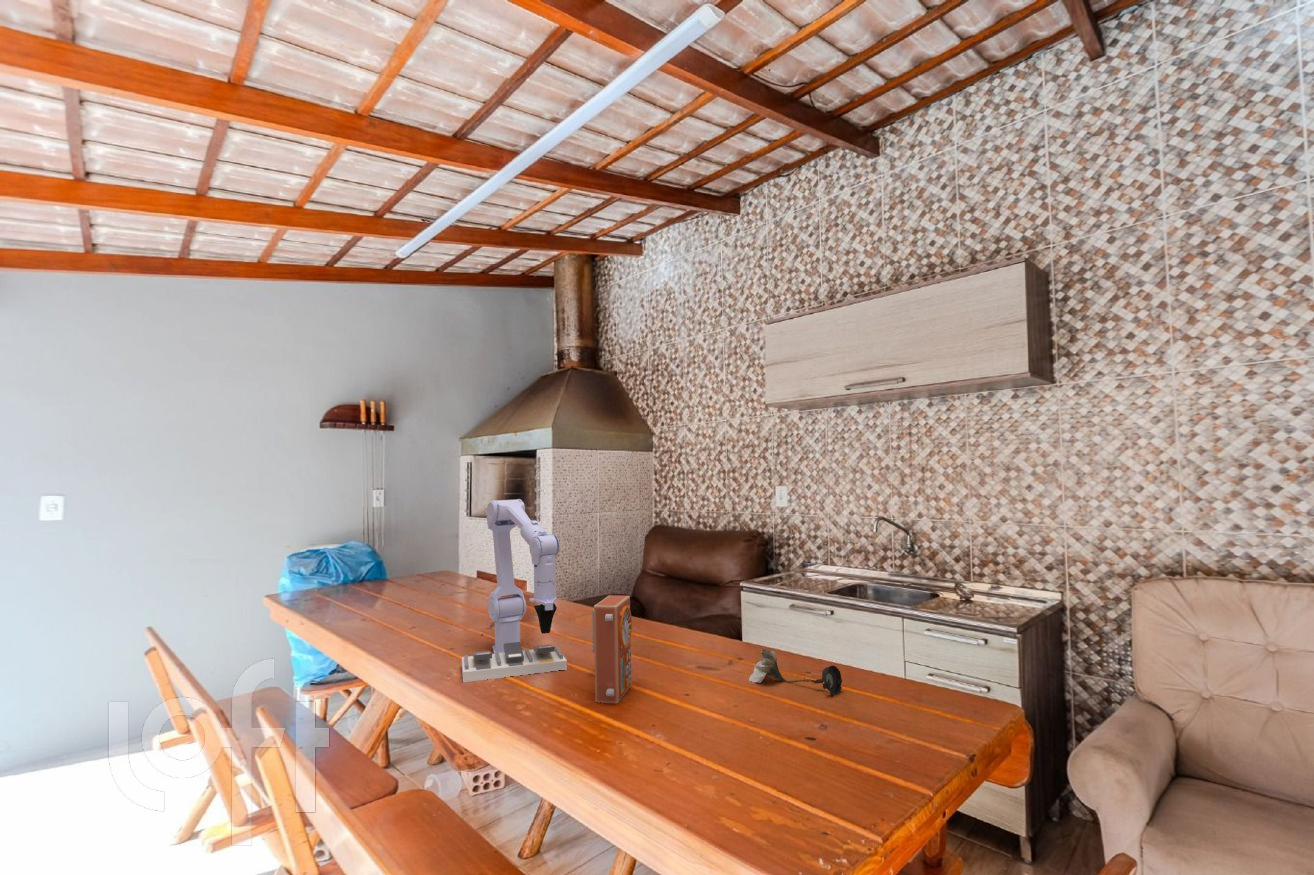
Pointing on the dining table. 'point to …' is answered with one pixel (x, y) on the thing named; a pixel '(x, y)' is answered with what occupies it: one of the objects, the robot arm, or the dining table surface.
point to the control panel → (612, 648)
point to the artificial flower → (769, 667)
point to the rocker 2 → (543, 648)
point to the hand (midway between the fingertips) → (545, 632)
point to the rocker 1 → (482, 655)
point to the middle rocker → (513, 652)
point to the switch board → (512, 665)
